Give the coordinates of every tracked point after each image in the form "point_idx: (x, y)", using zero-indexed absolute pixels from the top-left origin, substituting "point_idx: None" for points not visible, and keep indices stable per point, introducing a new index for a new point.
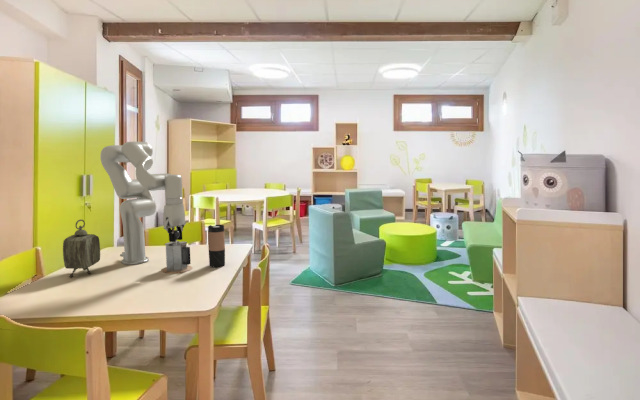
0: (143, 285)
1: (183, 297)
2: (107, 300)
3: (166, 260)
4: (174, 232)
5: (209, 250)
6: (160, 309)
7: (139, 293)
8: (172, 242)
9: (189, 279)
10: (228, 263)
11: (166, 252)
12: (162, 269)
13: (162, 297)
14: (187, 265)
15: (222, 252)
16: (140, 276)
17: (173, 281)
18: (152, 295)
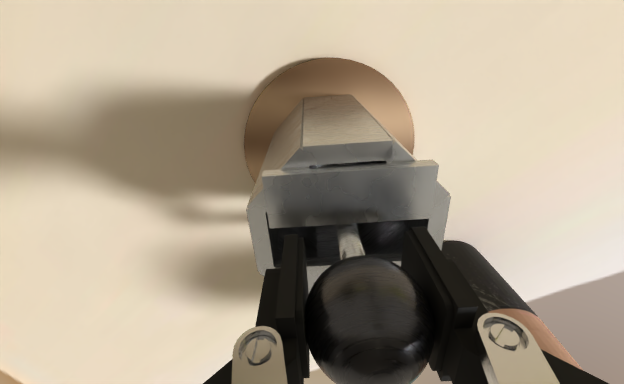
0: (73, 183)
1: (115, 362)
2: None
3: (289, 125)
4: (326, 373)
5: None
6: (18, 369)
7: (17, 242)
8: (346, 208)
9: (248, 281)
10: (507, 276)
11: (258, 176)
12: (286, 78)
13: (66, 323)
14: (410, 152)
15: None
16: (137, 41)
17: (194, 249)
18: (48, 290)
